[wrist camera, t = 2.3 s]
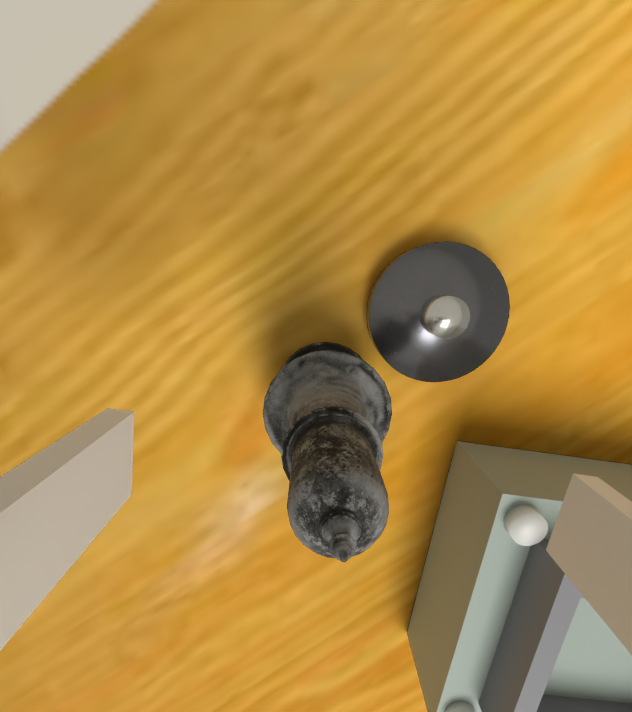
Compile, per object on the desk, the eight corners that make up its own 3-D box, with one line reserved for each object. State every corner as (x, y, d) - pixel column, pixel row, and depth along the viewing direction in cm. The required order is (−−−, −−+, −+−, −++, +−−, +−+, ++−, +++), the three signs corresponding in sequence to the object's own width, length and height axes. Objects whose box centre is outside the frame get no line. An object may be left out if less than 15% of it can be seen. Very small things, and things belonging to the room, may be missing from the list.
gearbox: (399, 661, 24) (434, 815, 17) (456, 441, 20) (529, 525, 13) (596, 681, 25) (705, 838, 18) (686, 471, 21) (867, 567, 14)
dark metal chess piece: (380, 336, 19) (490, 437, 7) (375, 437, 20) (462, 661, 9) (270, 336, 19) (201, 438, 7) (272, 438, 20) (219, 664, 8)
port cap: (356, 366, 19) (361, 378, 17) (380, 233, 18) (389, 227, 16) (480, 384, 20) (501, 398, 17) (514, 255, 18) (542, 252, 16)
